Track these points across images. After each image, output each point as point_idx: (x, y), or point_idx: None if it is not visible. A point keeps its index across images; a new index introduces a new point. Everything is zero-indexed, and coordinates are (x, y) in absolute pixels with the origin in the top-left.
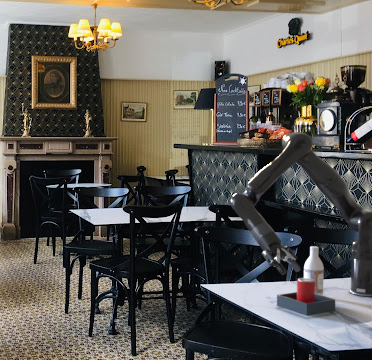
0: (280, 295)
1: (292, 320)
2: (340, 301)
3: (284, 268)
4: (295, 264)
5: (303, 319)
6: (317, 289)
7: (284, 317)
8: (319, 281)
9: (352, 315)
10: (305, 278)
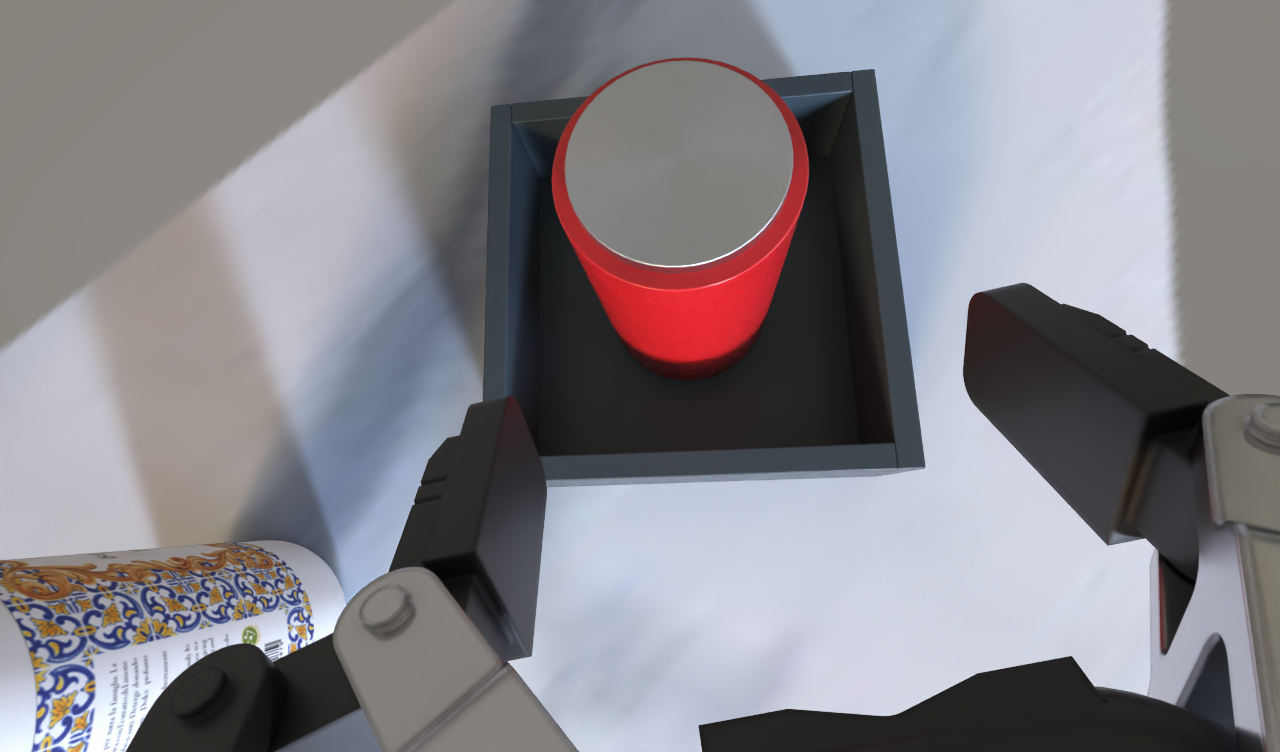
0: (907, 425)
1: (995, 146)
2: (178, 430)
3: (1036, 318)
4: (503, 496)
5: (886, 139)
6: (233, 552)
7: (1004, 229)
8: (131, 553)
9: (451, 106)
10: (630, 215)
